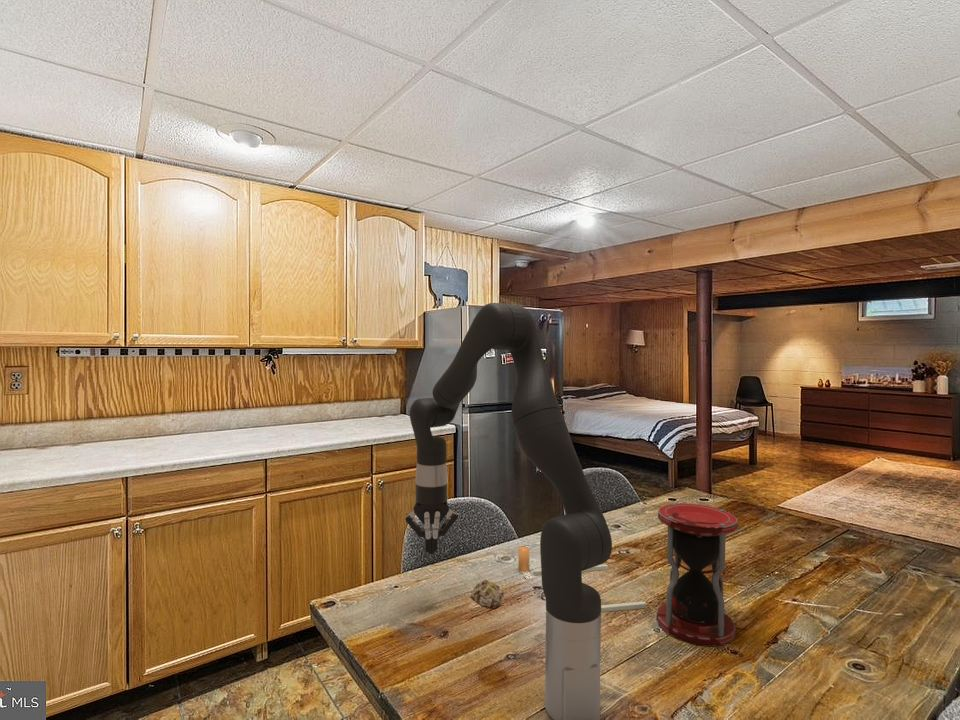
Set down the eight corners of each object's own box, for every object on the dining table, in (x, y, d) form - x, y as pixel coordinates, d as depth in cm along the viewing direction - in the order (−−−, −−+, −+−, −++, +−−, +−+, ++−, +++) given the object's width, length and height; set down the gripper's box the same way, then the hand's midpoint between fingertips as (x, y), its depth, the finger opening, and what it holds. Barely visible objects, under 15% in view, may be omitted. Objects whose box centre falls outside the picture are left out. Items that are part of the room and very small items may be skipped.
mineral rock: (465, 581, 130) (495, 570, 131) (469, 597, 130) (499, 585, 132) (474, 604, 119) (506, 591, 121) (479, 621, 120) (511, 608, 122)
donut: (679, 571, 141) (680, 557, 141) (675, 557, 151) (675, 544, 151) (719, 576, 139) (719, 561, 139) (712, 561, 148) (712, 547, 148)
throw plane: (654, 616, 117) (654, 590, 117) (551, 626, 113) (551, 599, 113) (600, 561, 147) (600, 541, 147) (517, 568, 142) (517, 546, 142)
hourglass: (641, 614, 118) (642, 506, 118) (696, 602, 124) (698, 499, 123) (693, 653, 103) (695, 530, 103) (753, 638, 109) (755, 521, 108)
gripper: (403, 486, 117) (403, 561, 118) (461, 484, 120) (460, 557, 120) (402, 478, 125) (402, 548, 125) (456, 476, 127) (456, 545, 128)
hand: (431, 552), depth 123 cm, fingers closed
